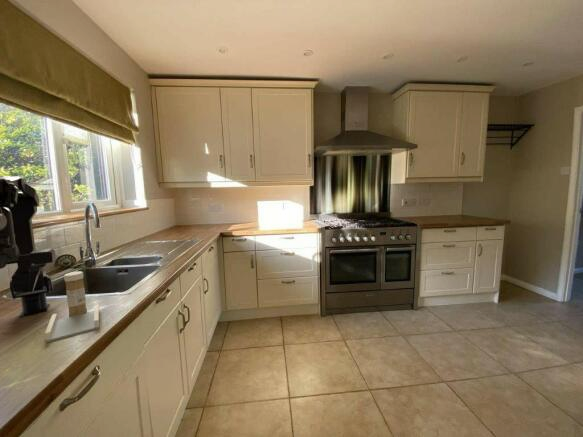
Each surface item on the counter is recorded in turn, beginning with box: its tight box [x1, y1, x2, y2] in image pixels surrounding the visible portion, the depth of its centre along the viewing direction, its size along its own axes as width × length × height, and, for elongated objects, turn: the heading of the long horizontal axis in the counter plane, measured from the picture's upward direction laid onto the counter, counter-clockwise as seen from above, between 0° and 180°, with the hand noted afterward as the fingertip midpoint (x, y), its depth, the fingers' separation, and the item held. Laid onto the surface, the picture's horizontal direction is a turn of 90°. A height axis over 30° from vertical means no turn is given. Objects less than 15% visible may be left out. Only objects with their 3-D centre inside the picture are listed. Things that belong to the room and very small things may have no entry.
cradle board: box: [44, 303, 100, 344], centre depth 73 cm, size 13×11×3 cm
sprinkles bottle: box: [63, 271, 88, 317], centre depth 80 cm, size 5×5×14 cm
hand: (4, 296), depth 59 cm, fingers open, 9 cm apart
